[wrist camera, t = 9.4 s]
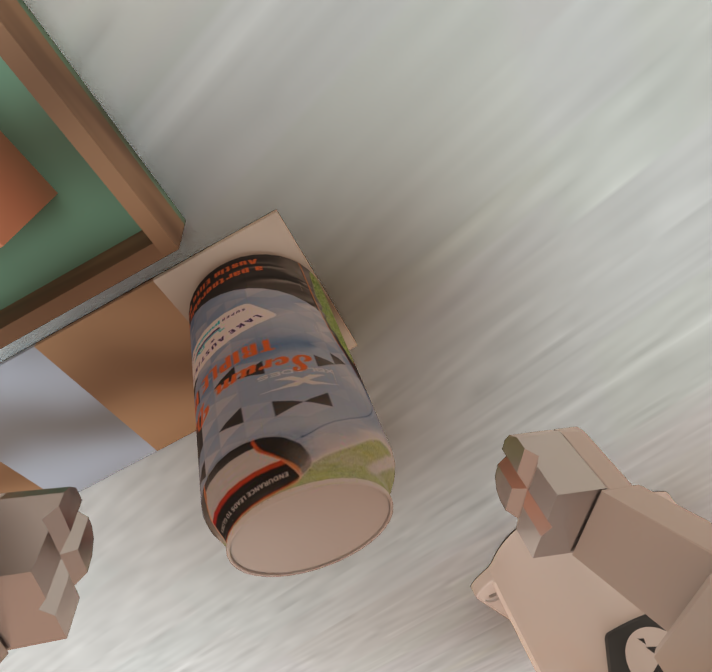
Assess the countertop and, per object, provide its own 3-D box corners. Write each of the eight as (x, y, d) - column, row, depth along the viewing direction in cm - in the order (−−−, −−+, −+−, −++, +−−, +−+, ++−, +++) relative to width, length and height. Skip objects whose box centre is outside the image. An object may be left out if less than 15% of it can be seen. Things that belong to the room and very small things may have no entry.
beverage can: (259, 212, 20) (292, 393, 10) (362, 316, 24) (458, 517, 14) (157, 305, 21) (99, 548, 11) (272, 389, 25) (303, 621, 15)
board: (356, 342, 24) (357, 345, 24) (-116, 590, 26) (-119, 595, 26) (276, 209, 19) (277, 211, 19) (-289, 523, 22) (-296, 529, 21)
